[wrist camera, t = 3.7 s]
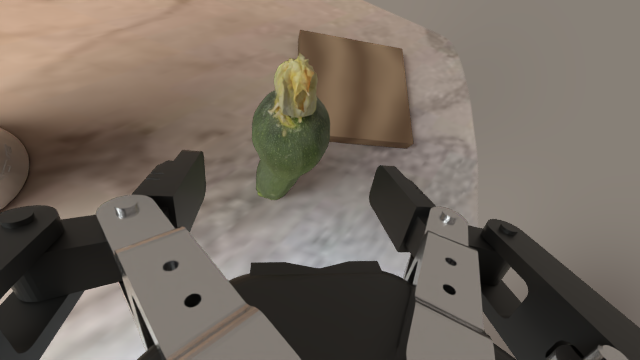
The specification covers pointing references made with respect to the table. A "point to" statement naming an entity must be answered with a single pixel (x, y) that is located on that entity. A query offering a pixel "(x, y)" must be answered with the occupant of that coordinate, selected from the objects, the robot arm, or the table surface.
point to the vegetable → (289, 129)
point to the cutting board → (360, 89)
